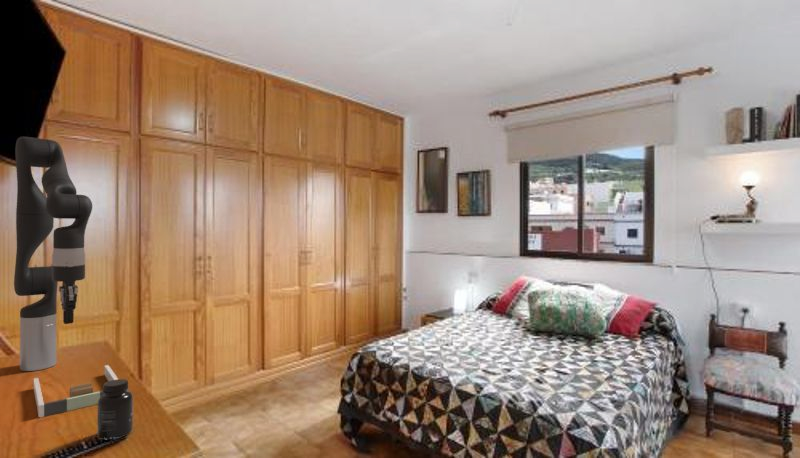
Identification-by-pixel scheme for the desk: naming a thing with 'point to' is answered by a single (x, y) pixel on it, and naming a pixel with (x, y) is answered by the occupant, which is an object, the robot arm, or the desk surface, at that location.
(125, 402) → the supplement bottle
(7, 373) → the desk surface
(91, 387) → the walnut block
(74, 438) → the desk surface
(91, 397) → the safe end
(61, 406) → the box
